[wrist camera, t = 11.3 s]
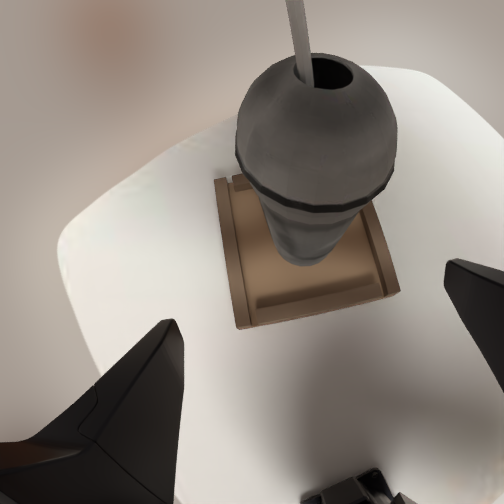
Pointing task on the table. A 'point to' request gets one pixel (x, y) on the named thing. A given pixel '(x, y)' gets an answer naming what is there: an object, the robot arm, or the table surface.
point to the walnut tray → (292, 276)
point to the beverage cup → (314, 145)
